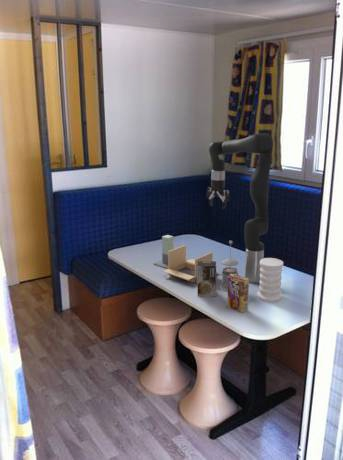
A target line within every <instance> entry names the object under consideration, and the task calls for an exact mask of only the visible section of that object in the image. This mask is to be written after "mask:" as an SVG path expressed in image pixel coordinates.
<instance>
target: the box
mask: <svg viewBox="0 0 343 460" xmlns="http://www.w3.org/2000/svg"><path fill="white" fill-rule="evenodd" d="M161 248H162V249H161V252H162V254H161V257H162V258H161V260H162V263H164V264H167V265H168V251H170V250H173V249H174V236H173V235H170V234H165V235H162V236H161Z"/></svg>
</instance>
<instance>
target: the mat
mask: <svg viewBox="0 0 343 460" xmlns="http://www.w3.org/2000/svg"><path fill="white" fill-rule="evenodd" d="M152 264H153V265H155V266H157V267H161V268H164V269H165V270H167V269H168V265H167V264H164V263H162V259H161V260H158V261H156V262H155V261H154V262H153V263H152Z"/></svg>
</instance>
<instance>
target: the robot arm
mask: <svg viewBox="0 0 343 460" xmlns="http://www.w3.org/2000/svg"><path fill="white" fill-rule="evenodd" d="M273 146H274V141H273V137H272V135H271V134H270V133H265V132H264V133H255V134H252V135H249V136H247V137H245V138H240V139H227V140H226V141H225V140H223V141H213V142H211V143H210V144H209V147H208V153H209V157H210V161H211V174H210V175H211V176H210V178H211V179H210V181H211V182H210V186H211V187H210V186H208V187H206V193H205V194H206V195H205V197H206V199H208V202H209V203H208V205H209V207H213V206H214V198H215V197H217V198H220V200H221V201H222V202H221V209H226V208H227V202H229V201H230V190H229V189H227V190H225V186H226V171H225V169H226V168H225V167H226V165H225V164H226V161H225V160H224V159H222V158H220V156H223V155H233V154H239V153H251V154H259V155H258V162H257V164H256V166H255V169H254V171H253V173H252V175H251V177H250V181H249V195H250V197H251V199H252V202H253V203H254V207H255V216H254V218H250V219H248V220H247V221H246V222H245V223H244V233H243V234H244V244H245V260H244V261H245V264H244V277H245V278H248V279H249V283H251V284H252V283H253V284H260V282H259V281H260V273H261V271H260V268H261V265H260V260H261V259H264V258H265V257H264V256H265V254H264V253H265V244H264V242H261V241H260V236H263V235H265V234H267V232H268V231H269V211H268V210H269V207H268V206H269V191H270V190H269V189H270V173H271V172H270V171H271V163H272V162H271V160H272V155H273V149H274V147H273Z"/></svg>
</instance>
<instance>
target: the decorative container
mask: <svg viewBox="0 0 343 460" xmlns="http://www.w3.org/2000/svg"><path fill="white" fill-rule="evenodd" d="M260 265H261V268H260V271H261V273H260V281H259V282H260V283H259V286H258V289H259V291H258V292H257V296H256V297H257V298H258V299H259V300H260V301H262V302H267V303H277V302H280V301H281V300H282V299H283V295H282V293H281V289H282V288H281V286H282V281H281V280H282V278H283V277H282V272H283V267H284V261H283V260H281V259H279V258H274V257H264V259H261V260H260Z"/></svg>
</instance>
